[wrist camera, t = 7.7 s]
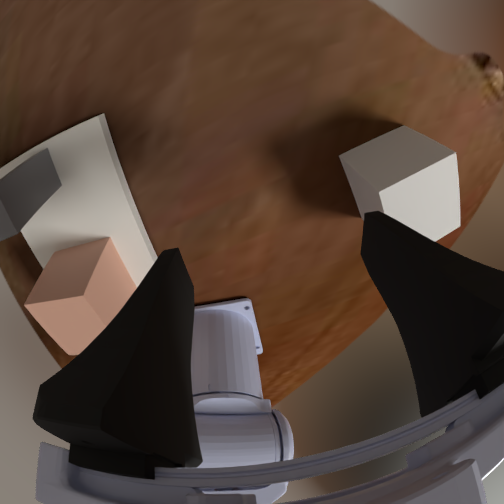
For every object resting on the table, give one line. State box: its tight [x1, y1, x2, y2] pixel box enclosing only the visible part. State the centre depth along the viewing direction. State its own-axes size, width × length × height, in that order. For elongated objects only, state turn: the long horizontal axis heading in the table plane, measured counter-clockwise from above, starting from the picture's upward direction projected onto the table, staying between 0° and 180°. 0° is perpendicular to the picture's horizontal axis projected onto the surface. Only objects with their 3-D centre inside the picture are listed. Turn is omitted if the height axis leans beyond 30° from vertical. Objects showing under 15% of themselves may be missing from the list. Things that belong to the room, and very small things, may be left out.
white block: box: [339, 125, 460, 242], centre depth 17 cm, size 6×6×6 cm
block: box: [24, 237, 137, 355], centre depth 18 cm, size 6×6×6 cm
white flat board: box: [0, 113, 157, 287], centre depth 16 cm, size 16×11×7 cm
